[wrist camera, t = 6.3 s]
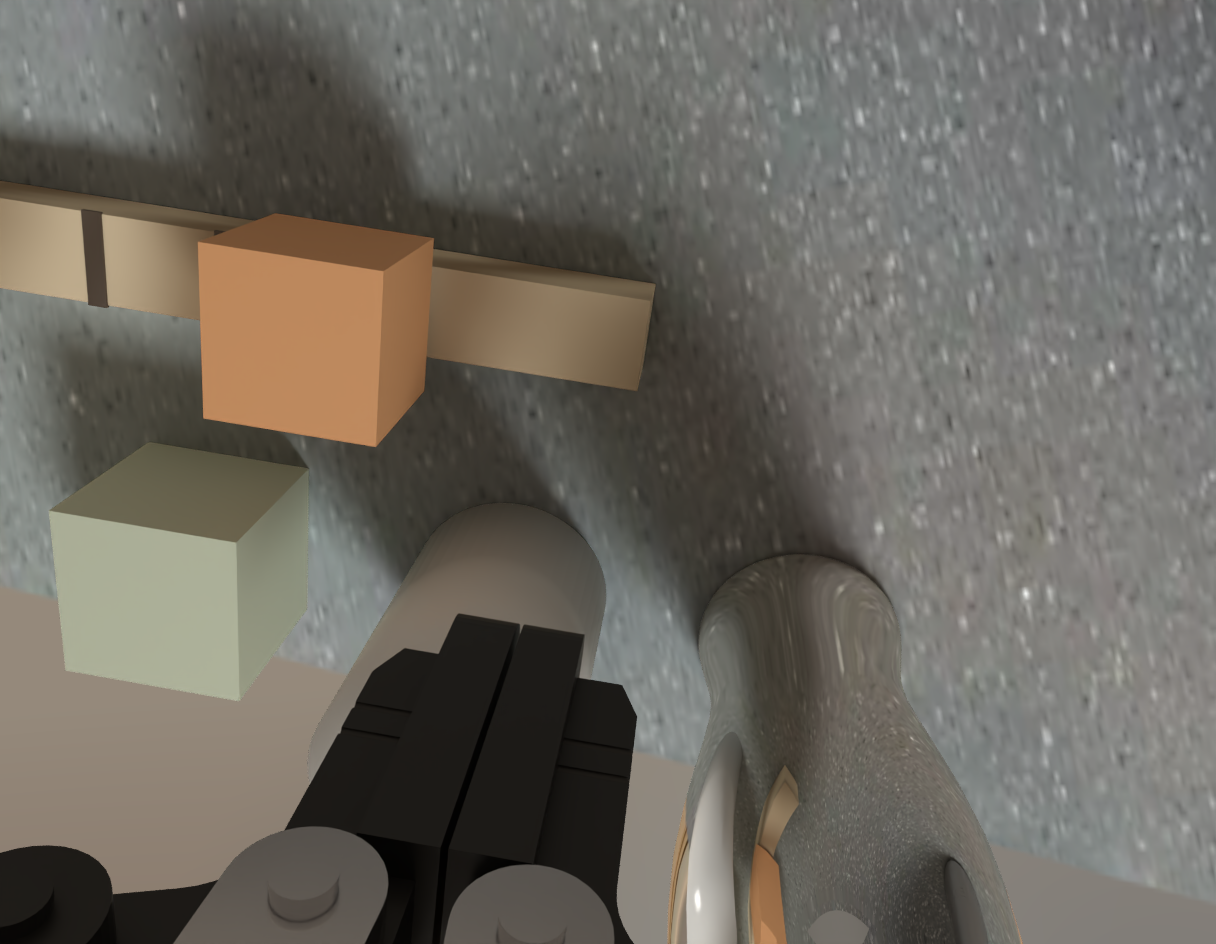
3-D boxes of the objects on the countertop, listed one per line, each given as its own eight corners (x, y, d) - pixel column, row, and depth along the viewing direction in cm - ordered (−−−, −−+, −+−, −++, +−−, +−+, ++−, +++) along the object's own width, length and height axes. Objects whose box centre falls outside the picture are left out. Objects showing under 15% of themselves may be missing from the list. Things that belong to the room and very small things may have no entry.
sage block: (309, 467, 30) (236, 542, 25) (307, 608, 32) (239, 701, 27) (150, 440, 30) (48, 510, 26) (158, 582, 32) (65, 670, 28)
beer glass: (693, 528, 29) (671, 948, 16) (932, 549, 29) (1127, 1003, 15) (676, 720, 32) (644, 1220, 18) (894, 743, 32) (1029, 1275, 18)
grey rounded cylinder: (619, 520, 30) (580, 702, 21) (593, 685, 32) (549, 906, 24) (422, 487, 30) (309, 654, 22) (411, 653, 32) (305, 861, 24)
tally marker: (433, 238, 24) (383, 271, 21) (424, 391, 26) (375, 447, 22) (275, 213, 24) (197, 241, 21) (275, 366, 26) (203, 418, 22)
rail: (656, 282, 27) (651, 300, 25) (642, 370, 28) (636, 393, 26) (-127, 158, 27) (-190, 166, 26) (-113, 248, 28) (-173, 262, 27)
